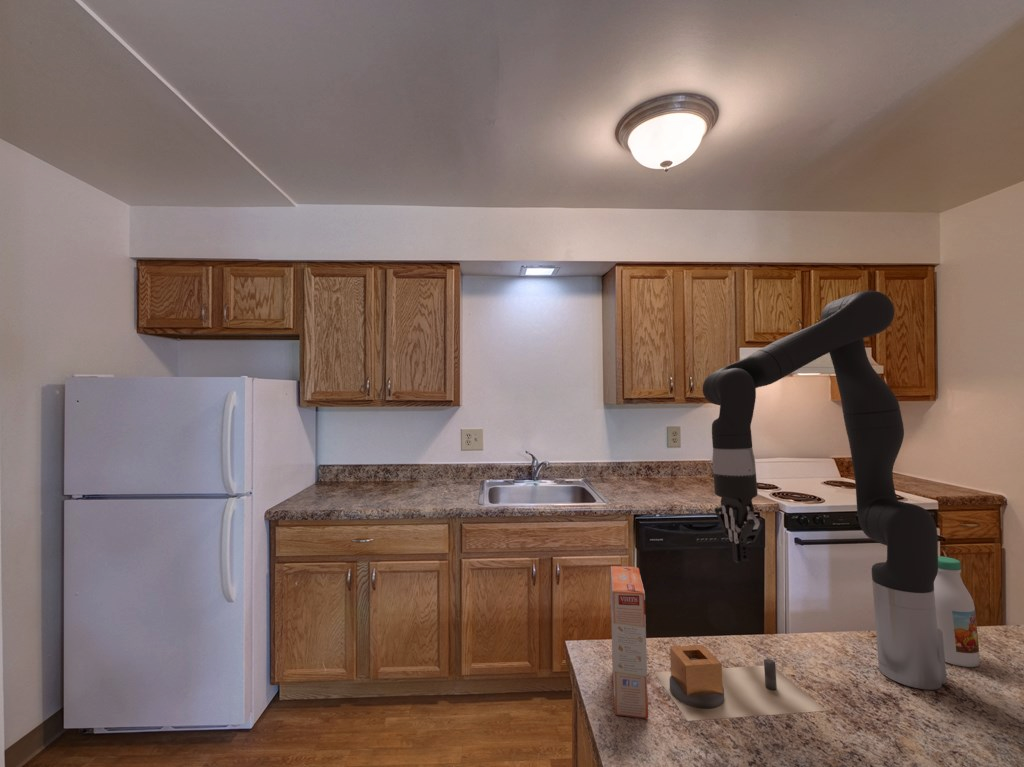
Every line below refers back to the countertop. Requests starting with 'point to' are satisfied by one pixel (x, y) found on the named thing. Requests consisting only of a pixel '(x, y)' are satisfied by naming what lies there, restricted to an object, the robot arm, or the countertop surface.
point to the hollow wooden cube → (696, 670)
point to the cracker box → (629, 642)
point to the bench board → (743, 695)
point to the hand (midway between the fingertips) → (740, 562)
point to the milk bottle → (955, 615)
